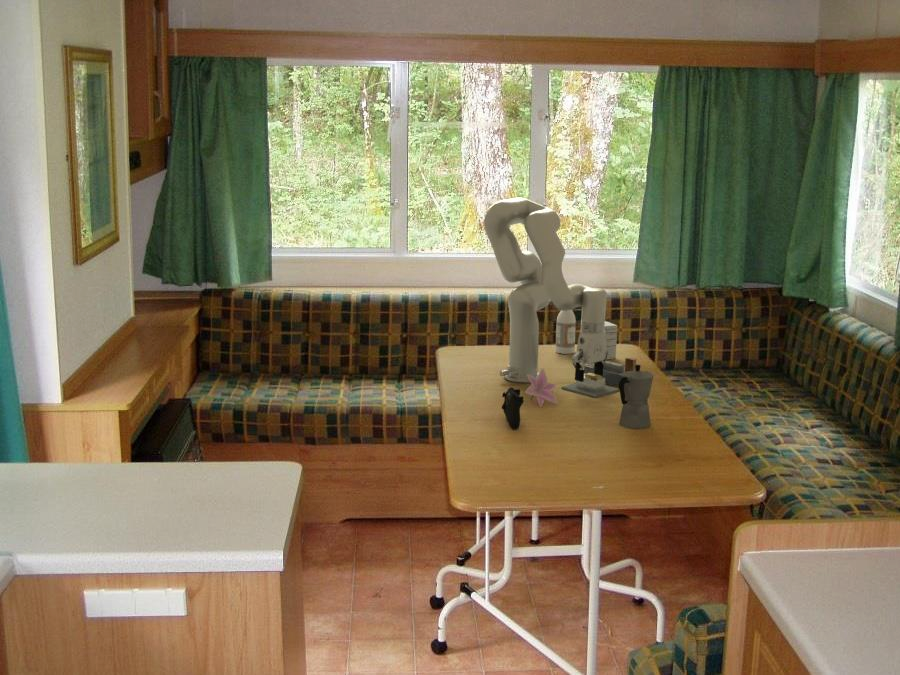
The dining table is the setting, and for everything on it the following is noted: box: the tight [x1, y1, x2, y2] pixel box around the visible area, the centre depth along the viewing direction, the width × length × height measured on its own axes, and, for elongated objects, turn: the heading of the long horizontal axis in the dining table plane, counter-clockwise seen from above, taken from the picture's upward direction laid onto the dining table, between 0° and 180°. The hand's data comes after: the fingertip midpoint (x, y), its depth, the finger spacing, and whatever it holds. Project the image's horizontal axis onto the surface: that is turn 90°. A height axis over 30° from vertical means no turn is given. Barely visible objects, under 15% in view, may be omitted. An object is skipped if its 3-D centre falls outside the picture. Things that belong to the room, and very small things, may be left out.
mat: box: [561, 382, 620, 399], centre depth 362 cm, size 12×14×1 cm
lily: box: [525, 367, 558, 408], centre depth 346 cm, size 12×12×10 cm
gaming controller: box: [501, 387, 525, 430], centre depth 325 cm, size 14×6×10 cm, turn 4°
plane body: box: [583, 357, 637, 388], centre depth 371 cm, size 8×18×9 cm, turn 44°
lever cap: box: [575, 373, 606, 392], centre depth 361 cm, size 5×8×5 cm, turn 44°
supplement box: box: [604, 320, 618, 361], centre depth 401 cm, size 7×7×13 cm
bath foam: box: [555, 309, 577, 355], centre depth 408 cm, size 7×7×20 cm
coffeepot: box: [618, 364, 654, 430], centre depth 324 cm, size 15×9×18 cm, turn 138°
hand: (588, 378), depth 361 cm, fingers open, 9 cm apart
